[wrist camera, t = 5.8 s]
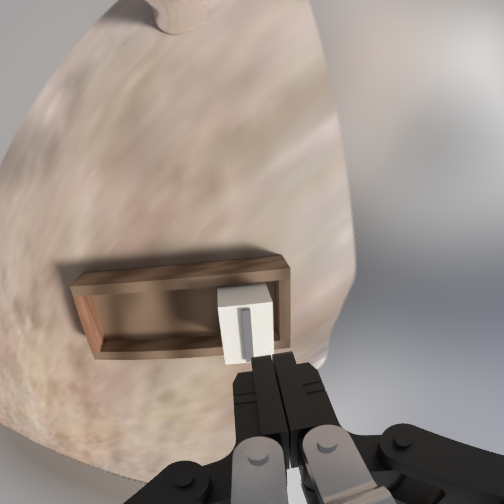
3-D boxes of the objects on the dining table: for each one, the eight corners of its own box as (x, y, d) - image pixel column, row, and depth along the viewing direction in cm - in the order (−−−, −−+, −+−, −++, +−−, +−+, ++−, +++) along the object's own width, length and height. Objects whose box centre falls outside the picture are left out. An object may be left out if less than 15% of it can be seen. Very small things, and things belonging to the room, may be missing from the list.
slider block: (263, 276, 33) (273, 303, 27) (265, 328, 35) (274, 361, 29) (217, 280, 32) (217, 309, 26) (223, 332, 35) (225, 367, 29)
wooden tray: (282, 255, 34) (290, 268, 30) (283, 329, 37) (290, 347, 34) (83, 273, 32) (69, 286, 28) (103, 341, 35) (94, 359, 32)
